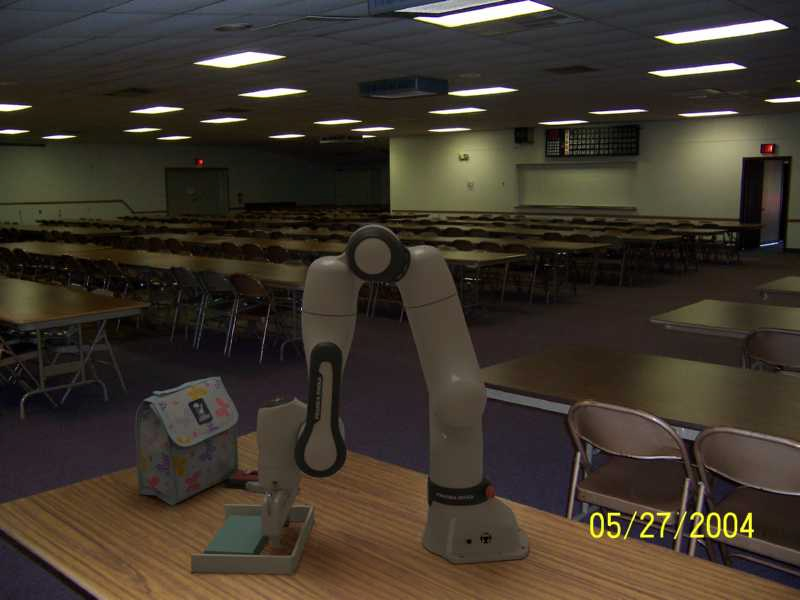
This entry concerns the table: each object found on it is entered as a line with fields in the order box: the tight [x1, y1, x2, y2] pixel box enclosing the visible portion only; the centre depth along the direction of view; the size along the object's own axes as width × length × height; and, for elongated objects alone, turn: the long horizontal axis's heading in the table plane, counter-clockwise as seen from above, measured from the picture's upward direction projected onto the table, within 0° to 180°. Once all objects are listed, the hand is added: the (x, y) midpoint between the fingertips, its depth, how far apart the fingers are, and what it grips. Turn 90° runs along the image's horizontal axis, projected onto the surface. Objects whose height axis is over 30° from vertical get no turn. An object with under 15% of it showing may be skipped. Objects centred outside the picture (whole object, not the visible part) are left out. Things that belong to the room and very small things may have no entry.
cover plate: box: [203, 515, 270, 555], centre depth 151 cm, size 10×16×3 cm, turn 174°
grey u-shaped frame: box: [190, 503, 315, 575], centre depth 151 cm, size 20×23×4 cm
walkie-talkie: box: [223, 466, 301, 494], centre depth 181 cm, size 9×4×20 cm
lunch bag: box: [134, 376, 239, 506], centre depth 179 cm, size 22×17×26 cm
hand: (281, 536), depth 151 cm, fingers open, 8 cm apart
